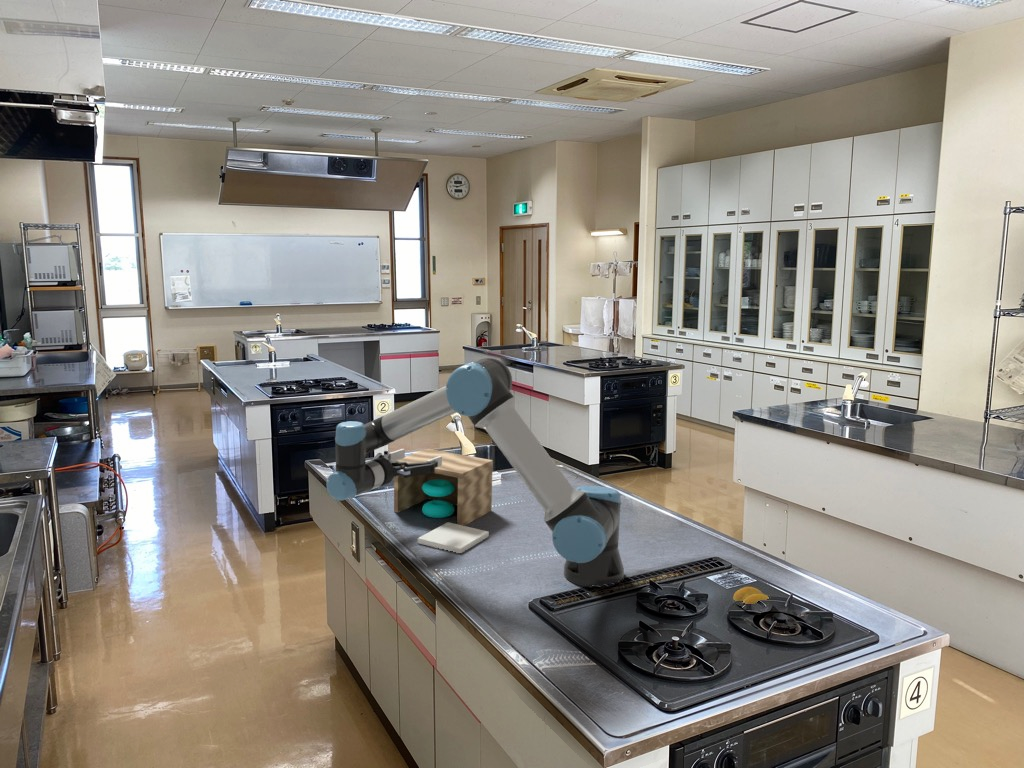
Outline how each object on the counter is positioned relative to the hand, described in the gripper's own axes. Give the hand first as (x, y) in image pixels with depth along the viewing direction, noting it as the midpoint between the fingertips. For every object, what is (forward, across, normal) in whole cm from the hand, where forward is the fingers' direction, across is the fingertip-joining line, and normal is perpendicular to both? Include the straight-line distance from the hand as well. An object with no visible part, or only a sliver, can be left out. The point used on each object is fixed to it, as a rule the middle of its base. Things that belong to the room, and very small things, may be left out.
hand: (422, 456), depth 219 cm
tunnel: (+12, 0, -20) cm, 23 cm away
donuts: (+9, 0, -21) cm, 22 cm away
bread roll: (-1, +97, -20) cm, 99 cm away
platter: (-6, +16, -20) cm, 27 cm away
